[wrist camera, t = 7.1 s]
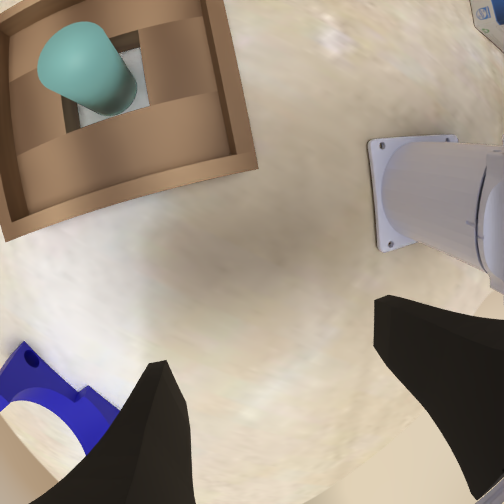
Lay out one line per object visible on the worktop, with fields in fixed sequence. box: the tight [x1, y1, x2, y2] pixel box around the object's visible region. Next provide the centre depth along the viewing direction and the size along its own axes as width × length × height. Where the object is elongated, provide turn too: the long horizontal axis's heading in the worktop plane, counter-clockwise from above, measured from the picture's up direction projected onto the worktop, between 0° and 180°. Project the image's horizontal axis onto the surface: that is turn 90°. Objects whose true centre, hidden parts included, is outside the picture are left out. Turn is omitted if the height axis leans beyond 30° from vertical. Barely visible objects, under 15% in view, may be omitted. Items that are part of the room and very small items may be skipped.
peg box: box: [0, 0, 258, 242], centre depth 12 cm, size 13×13×4 cm
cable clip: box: [0, 341, 120, 455], centre depth 17 cm, size 12×4×6 cm, turn 34°
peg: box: [37, 22, 137, 116], centre depth 11 cm, size 3×3×7 cm
